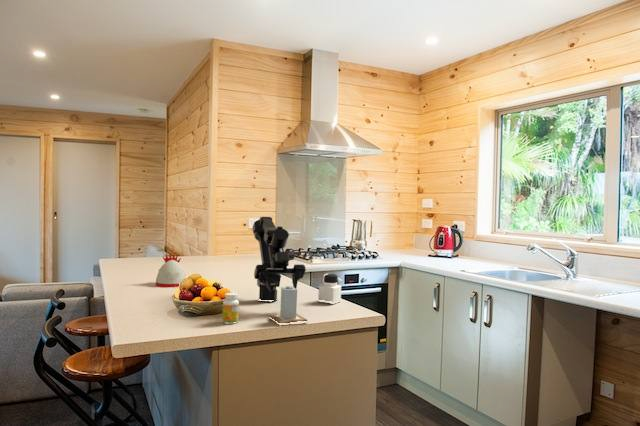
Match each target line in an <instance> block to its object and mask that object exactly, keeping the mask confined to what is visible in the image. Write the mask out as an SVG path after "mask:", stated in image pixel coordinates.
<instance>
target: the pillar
mask: <svg viewBox="0 0 640 426" xmlns="http://www.w3.org/2000/svg"><path fill="white" fill-rule="evenodd" d="M297 303H298V289H297V288H294V287H293V285H292V286H291V285H288V286H287V285H285V287H281V289H280V313H279V314H280V316H281V317H282V318H283V319H295V318H296V314H297V307H298V306H297Z"/></svg>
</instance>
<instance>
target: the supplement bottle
mask: <svg viewBox="0 0 640 426" xmlns="http://www.w3.org/2000/svg"><path fill="white" fill-rule="evenodd" d="M224 295H225V297H224V298H225V299H224V300H223V301H222V321H221V322H222V323H223V322H225V323H234V322H239V314H240V312H239V311H240V301H239V300H238V293H236V292H227V293H225V294H224ZM225 323H224V324H225Z"/></svg>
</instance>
